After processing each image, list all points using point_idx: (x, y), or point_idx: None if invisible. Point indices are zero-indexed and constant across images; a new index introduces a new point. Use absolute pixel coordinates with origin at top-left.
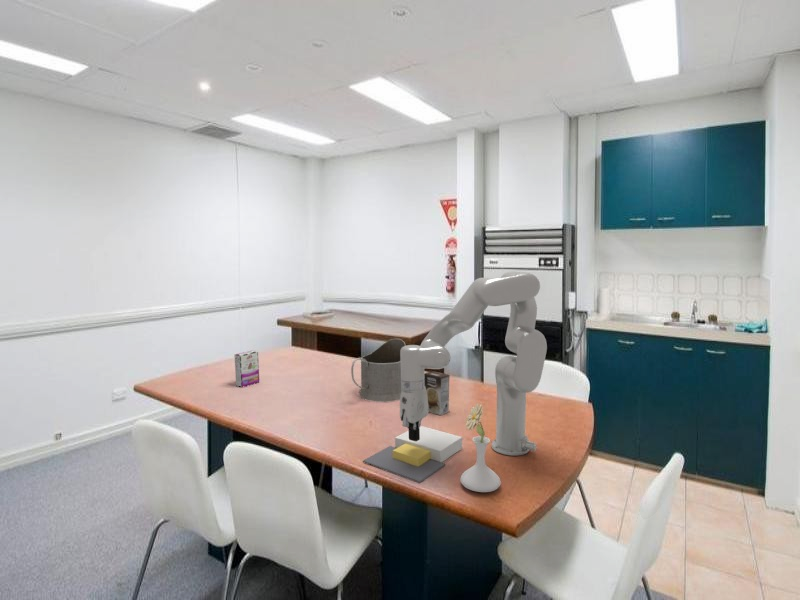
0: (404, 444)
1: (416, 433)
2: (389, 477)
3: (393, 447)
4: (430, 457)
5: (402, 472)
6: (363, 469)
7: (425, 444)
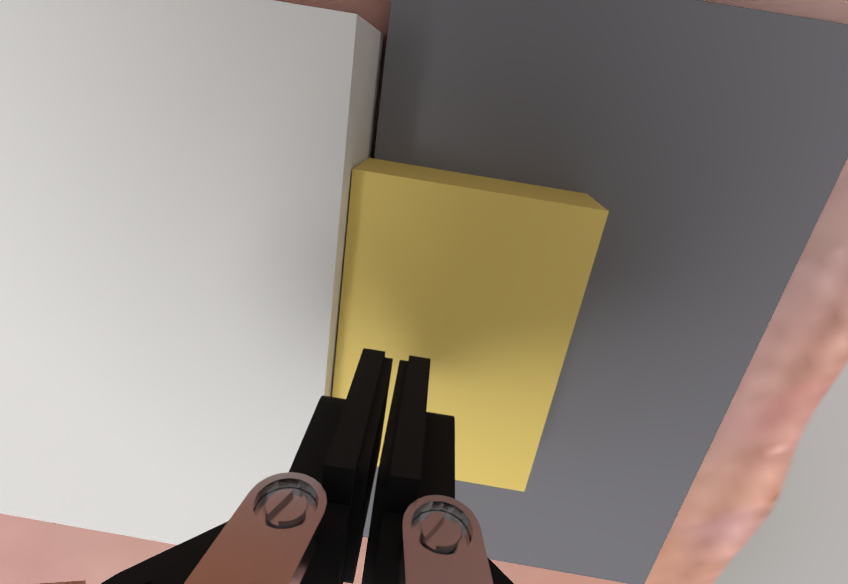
0: None
1: (422, 432)
2: (827, 335)
3: None
4: (370, 159)
5: (754, 272)
6: (742, 533)
7: (282, 274)
